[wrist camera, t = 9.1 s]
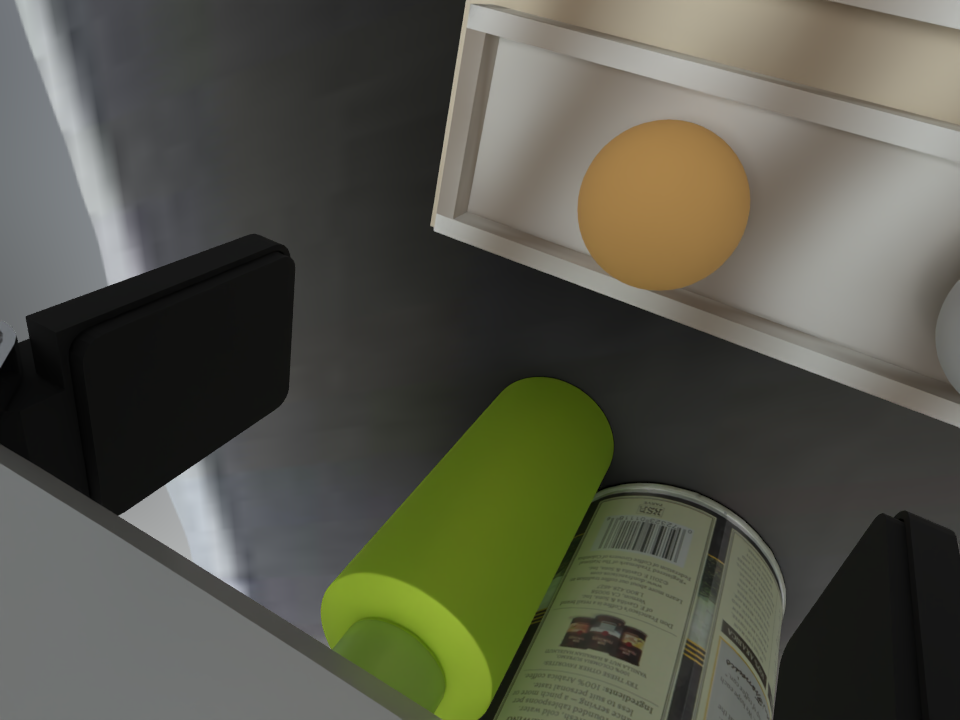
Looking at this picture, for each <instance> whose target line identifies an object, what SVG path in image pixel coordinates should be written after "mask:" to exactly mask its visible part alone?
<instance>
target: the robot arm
mask: <svg viewBox="0 0 960 720" xmlns="http://www.w3.org/2000/svg"><path fill="white" fill-rule="evenodd" d="M294 281H295V263H294V261H293V260H292V259H291V258H290V253H289V251H288V249H287V248H286V247H285V246H284V245H281V244H279V243H277V242H274V241H272V240H270V239H267V238H265V237H263V236H260V235H257V234H250V235H247V236H244V237H242V238H239V239H236V240H233V241H231V242H228V243H225V244H222V245H220V246H217V247H214V248H211V249H209V250H206V251H203V252H200V253H198V254H195V255H192V256H190V257H187V258H184V259H181V260H179V261H176V262H173V263H170V264H168V265H165V266H162V267H159V268H157V269H154V270H151V271H148V272H146V273H143V274H140V275H138V276H135V277H132V278H129V279H127V280H124V281H121V282H118V283H116V284H113V285H110V286H107V287H105V288H102V289H99V290H97V291H94V292H91V293H89V294H86V295H83V296H80V297H77V298H75V299H72V300H69V301H66V302H64V303H61V304H58V305H55V306H53V307H50V308H47V309H45V310H42V311H39V312H36V313H34V314H31V315H28V316H26V322H27V327H28V332H29V338H30V339H27V340H25V341H22V342H20V343H18V340H17V336H16V333H15V331H14V329H13V327H12V326H10V325H9V324H7V323H6V322H4V321H2V320H0V720H442V719H441V718H439V717H438V716H436V715H435V714H433V713H431V712H430V711H428V710H427V709H425V708H424V707H422V706H420V705H419V704H417V703H416V702H414V701H413V700H411V699H409V698H408V697H406V696H405V695H403V694H401V693H400V692H398V691H397V690H395V689H394V688H392V687H390V686H389V685H387V684H386V683H384V682H383V681H381V680H379V679H378V678H376V677H375V676H373V675H372V674H370V673H368V672H367V671H365V670H364V669H362V668H360V667H359V666H357V665H356V664H354V663H352V662H351V661H349V660H348V659H346V658H345V657H343V656H341V655H340V654H338V653H337V652H335V651H333V650H332V649H330V648H329V647H327V646H325V645H324V644H322V643H321V642H319V641H317V640H316V639H314V638H313V637H311V636H309V635H308V634H306V633H305V632H303V631H302V630H300V629H298V628H297V627H295V626H294V625H292V624H290V623H289V622H287V621H286V620H284V619H282V618H281V617H279V616H278V615H276V614H274V613H273V612H271V611H270V610H268V609H266V608H265V607H263V606H262V605H260V604H259V603H257V602H255V601H254V600H252V599H251V598H249V597H247V596H246V595H244V594H243V593H241V592H239V591H238V590H236V589H235V588H233V587H231V586H230V585H228V584H227V583H225V582H223V581H222V580H220V579H219V578H217V577H215V576H214V575H212V574H211V573H209V572H207V571H206V570H204V569H203V568H201V567H199V566H198V565H196V564H195V563H193V562H191V561H190V560H188V559H187V558H185V557H183V556H182V555H180V554H179V553H177V552H175V551H174V550H172V549H171V548H169V547H167V546H166V545H164V544H163V543H161V542H159V541H158V540H156V539H154V538H153V537H151V536H150V535H148V534H146V533H145V532H143V531H141V530H140V529H138V528H137V527H135V526H133V525H132V524H130V523H128V522H127V521H125V520H124V519H122V518H120V517H119V516H118V515H120V514H122V513H124V512H125V511H127V510H128V509H130V508H131V507H133V506H134V505H136V504H137V503H139V502H140V501H142V500H143V499H145V498H146V497H147V496H149V495H150V494H152V493H153V492H155V491H156V490H158V489H159V488H161V487H162V486H164V485H165V484H167V483H168V482H170V481H171V480H172V479H174V478H175V477H177V476H178V475H180V474H181V473H183V472H184V471H186V470H187V469H189V468H190V467H192V466H193V465H195V464H196V463H197V462H199V461H200V460H202V459H203V458H205V457H206V456H208V455H209V454H211V453H212V452H214V451H215V450H217V449H218V448H219V447H221V446H222V445H224V444H225V443H227V442H228V441H230V440H231V439H233V438H234V437H236V436H237V435H239V434H240V433H242V432H243V431H244V430H246V429H247V428H249V427H250V426H252V425H253V424H255V423H256V422H258V421H259V420H261V419H262V418H264V417H265V416H266V415H268V414H269V413H271V412H272V411H274V410H275V409H277V408H278V407H279V406H280V405H281V404H282V403H283V402H284V400H285V398H286V396H287V394H288V390H289V376H290V357H291V338H292V319H293V300H294ZM773 720H960V555H959V549H958V544H957V539H956V536H955V533H954V532H953V531H952V530H950V529H948V528H945V527H943V526H940V525H938V524H936V523H933V522H931V521H929V520H926V519H924V518H922V517H919V516H917V515H915V514H912V513H910V512H908V511H901V512H899V513H898V514H897V515H896V516H895V517H894V518H893V517H891V516H888V515H886V514H884V513H882V514H880V515H878V516H877V517H876V518H875V519H874V521H873V522H872V523H871V525H870V526H869V528H868V529H867V531H866V532H865V533H864V535H863V536H862V538H861V539H860V540H859V542H858V543H857V545H856V546H855V548H854V549H853V550H852V552H851V553H850V555H849V556H848V558H847V559H846V560H845V562H844V563H843V565H842V566H841V567H840V569H839V570H838V572H837V573H836V575H835V576H834V577H833V579H832V580H831V582H830V583H829V585H828V586H827V587H826V589H825V590H824V592H823V593H822V595H821V596H820V597H819V599H818V600H817V602H816V603H815V604H814V606H813V607H812V609H811V610H810V612H809V613H808V614H807V616H806V617H805V619H804V620H803V622H802V623H801V624H800V626H799V627H798V629H797V630H796V631H795V633H794V634H793V636H792V637H791V639H790V640H789V642H788V644H787V646H786V648H785V650H784V653H783V655H782V659H781V662H780V667H779V676H778V684H777V692H776V700H775V708H774V716H773Z"/></svg>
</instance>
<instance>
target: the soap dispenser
mask: <svg viewBox="0 0 960 720" xmlns="http://www.w3.org/2000/svg"><path fill="white" fill-rule="evenodd" d="M613 451H614V441H613V435H612V431H611V428H610V425H609V423H608V420H607V418H606V417H605V415H604V413H603V412H602V410H601V409H600V408H599V406H598V405H597V404H596V403H595V402H594V401H593V400H592V399H591V398H590V397H589V396H588V395H587V394H585V393H584V392H583V391H581V390H580V389H578V388H576V387H575V386H573V385H571V384H569V383H566V382H564V381H561V380H558V379H553V378H548V377H531V378H525V379H522V380H519V381H516V382H514V383H512V384H511V385H509V386H508V387H506V388H505V389H504V390H503V391H502V392H501V393H500V394H499V395H498V396H497V398H496V399H495V400H494V401H493V402H492V403H491V404H490V405H489V407H488V408H487V409H486V410H485V411H484V412H483V413H482V414H481V416H480V417H479V418H478V419H477V420H476V421H475V422H474V424H473V425H472V426H471V427H470V428H469V429H468V430H467V431H466V433H465V434H464V435H463V436H462V437H461V438H460V439H459V440H458V442H457V443H456V444H455V445H454V446H453V447H452V448H451V449H450V451H449V452H448V453H447V454H446V455H445V456H444V457H443V458H442V460H441V461H440V462H439V463H438V464H437V465H436V466H435V467H434V469H433V470H432V471H431V472H430V473H429V474H428V475H427V476H426V478H425V479H424V480H423V481H422V482H421V483H420V484H419V485H418V487H417V488H416V489H415V490H414V491H413V492H412V493H411V495H410V496H409V497H408V498H407V499H406V500H405V501H404V502H403V504H402V505H401V506H400V507H399V508H398V509H397V510H396V511H395V513H394V514H393V515H392V516H391V517H390V518H389V519H388V520H387V522H386V523H385V524H384V525H383V526H382V527H381V528H380V529H379V531H378V532H377V533H376V534H375V535H374V536H373V537H372V538H371V540H370V541H369V542H368V543H367V544H366V545H365V546H364V547H363V549H362V550H361V551H360V552H359V553H358V554H357V555H356V556H355V558H354V559H353V560H352V561H351V562H350V563H349V564H348V565H347V567H346V568H345V569H344V570H343V571H342V572H341V573H340V575H339V576H338V577H337V578H336V579H335V580H334V581H333V582H332V584H331V585H330V586H329V587H328V589H327V590H326V592H325V594H324V596H323V599H322V604H321V621H322V626H323V630H324V633H325V636H326V639H327V641H328V643H329V646H330V648H331V649H332V650H333V651H335V652H337V653H338V654H340V655H341V656H343V657H345V658H346V659H348V660H349V661H351V662H352V663H354V664H356V665H357V666H359V667H360V668H362V669H364V670H365V671H367V672H368V673H370V674H372V675H373V676H375V677H376V678H378V679H379V680H381V681H383V682H384V683H386V684H387V685H389V686H390V687H392V688H394V689H395V690H397V691H398V692H400V693H401V694H403V695H405V696H406V697H408V698H409V699H411V700H413V701H414V702H416V703H417V704H419V705H420V706H422V707H424V708H425V709H427V710H428V711H430V712H431V713H433V714H435V715H436V716H438V717H439V718H441V719H442V720H478V719H479V718H481V717H482V716H483V715H484V713H485V712H486V711H487V709H488V708H489V706H490V704H491V702H492V700H493V698H494V696H495V694H496V692H497V690H498V688H499V686H500V684H501V682H502V680H503V678H504V676H505V674H506V672H507V670H508V668H509V666H510V664H511V662H512V660H513V658H514V656H515V654H516V652H517V650H518V648H519V646H520V644H521V642H522V640H523V638H524V636H525V634H526V632H527V630H528V628H529V626H530V624H531V622H532V620H533V618H534V616H535V614H536V612H537V610H538V608H539V606H540V604H541V602H542V600H543V598H544V596H545V594H546V592H547V590H548V588H549V586H550V584H551V582H552V580H553V578H554V576H555V574H556V572H557V570H558V568H559V566H560V564H561V562H562V560H563V558H564V556H565V554H566V552H567V550H568V548H569V546H570V544H571V542H572V540H573V538H574V536H575V534H576V532H577V530H578V528H579V526H580V524H581V522H582V520H583V518H584V516H585V514H586V512H587V510H588V508H589V506H590V504H591V502H592V500H593V498H594V496H595V494H596V492H597V490H598V488H599V486H600V484H601V482H602V480H603V478H604V476H605V474H606V472H607V470H608V468H609V466H610V463H611V461H612V457H613Z"/></svg>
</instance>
